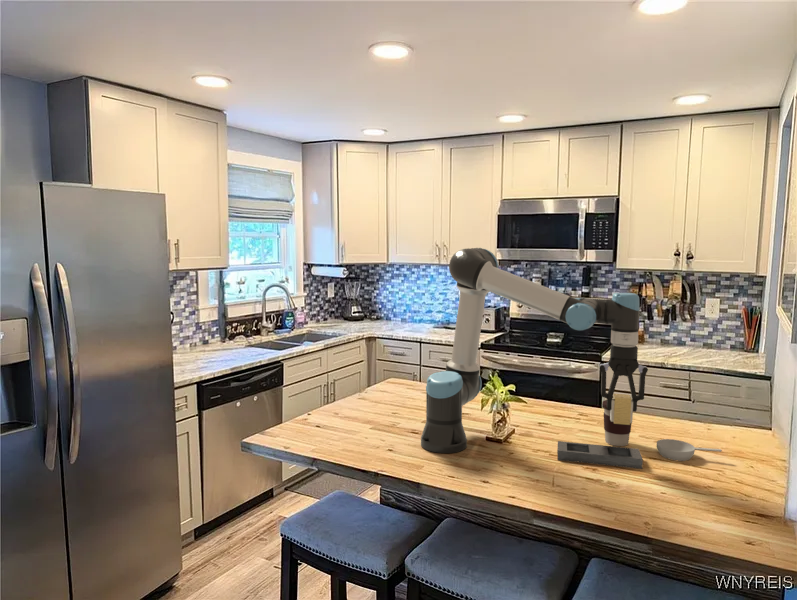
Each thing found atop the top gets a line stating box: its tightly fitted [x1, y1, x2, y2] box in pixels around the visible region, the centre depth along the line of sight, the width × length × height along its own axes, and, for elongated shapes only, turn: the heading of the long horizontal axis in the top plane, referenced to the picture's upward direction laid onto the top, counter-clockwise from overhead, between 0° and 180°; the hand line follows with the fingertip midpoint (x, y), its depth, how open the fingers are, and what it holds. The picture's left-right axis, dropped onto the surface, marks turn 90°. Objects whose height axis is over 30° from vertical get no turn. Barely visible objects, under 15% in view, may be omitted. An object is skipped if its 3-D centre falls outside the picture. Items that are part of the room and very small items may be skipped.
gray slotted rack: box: [556, 440, 644, 470], centre depth 169 cm, size 24×8×3 cm, turn 74°
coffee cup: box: [601, 397, 633, 447], centre depth 182 cm, size 10×10×15 cm
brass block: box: [613, 393, 632, 425], centre depth 166 cm, size 4×4×8 cm
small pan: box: [656, 438, 722, 462], centre depth 171 cm, size 11×18×4 cm, turn 68°
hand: (621, 420), depth 166 cm, fingers closed on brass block, 4 cm apart
